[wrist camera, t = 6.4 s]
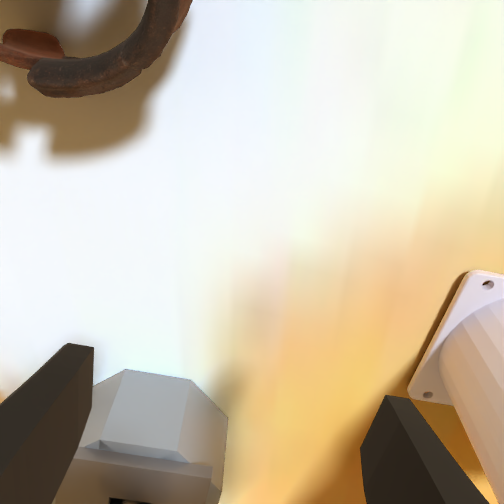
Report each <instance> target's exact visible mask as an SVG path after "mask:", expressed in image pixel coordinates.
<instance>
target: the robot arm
mask: <svg viewBox="0 0 504 504" xmlns="http://www.w3.org/2000/svg"><path fill="white" fill-rule="evenodd" d="M487 280H490V282H489V283H488V284H486V285H482V284H483V283H484V282H485V281H487ZM93 361H94V347H89V346H83V345H77V344H71V343H67V344H66V345H64V346H63V347H62V348H61V349H60V350H59V351H58V352H57V353H56V354H55V355H53V356H52V357H51V358H50V359H49V360H48V361H47V362H46V363H45V364H44V365H43V366H42V367H41V368H40V369H39V370H38V371H37V372H36V373H35V374H33V375H32V376H31V377H30V378H29V379H28V380H27V381H26V382H25V383H24V384H23V385H21V386H20V387H19V388H18V389H17V390H16V391H15V392H13V393H12V394H11V395H10V396H9V397H8V398H6V399H5V400H4V401H3V402H2V403H1V404H0V504H52V502H53V500H54V498H55V496H56V494H57V492H58V489H59V487H60V485H61V483H62V481H63V479H64V477H65V475H66V472H67V470H68V468H69V466H70V464H71V462H72V460H73V457H74V455H75V453H76V451H77V449H78V446H79V443H80V440H81V438H82V435H83V432H84V429H85V426H86V423H87V420H88V417H89V414H90V411H91V408H92V391H93ZM407 391H408V394H409V396H410V397H411V398H412V399H415V400H421V401H427V402H433V403H439V404H445V405H451V406H454V408H455V410H456V412H457V414H458V416H459V418H460V421H461V423H462V425H463V427H464V429H465V431H466V434H467V436H468V438H469V440H470V442H471V444H472V447H473V449H474V451H475V453H476V455H477V457H478V460H479V462H480V464H481V466H482V468H483V470H484V473H485V475H486V477H487V479H488V481H489V484H490V486H491V488H492V490H493V492H494V494H495V497H496V499H497V501H498V503H499V504H504V275H503V274H498V273H493V272H488V271H482V270H472V271H470V272H468V273H467V274H466V275H465V276H464V278H463V280H462V282H461V284H460V286H459V288H458V290H457V292H456V293H455V295H454V297H453V299H452V301H451V303H450V305H449V307H448V309H447V311H446V313H445V315H444V317H443V319H442V321H441V323H440V325H439V327H438V329H437V331H436V333H435V335H434V337H433V338H432V340H431V342H430V344H429V346H428V348H427V350H426V352H425V354H424V356H423V358H422V360H421V362H420V364H419V366H418V368H417V370H416V372H415V374H414V376H413V378H412V380H411V382H410V383H409V385H408V388H407ZM427 391H429V392H427ZM425 392H427V393H425ZM360 453H361V465H362V476H363V485H364V492H365V497H366V502H367V504H489V502H488V501H487V500H486V499H485V498H484V496H483V495H482V494H481V493H480V491H479V490H478V489H477V488H476V486H475V485H474V484H473V483H472V481H471V480H470V479H469V478H468V476H467V475H466V474H465V472H464V471H463V470H462V469H461V467H460V466H459V465H458V463H457V462H456V461H455V459H454V458H453V457H452V455H451V454H450V453H449V452H448V450H447V449H446V447H445V446H444V445H443V443H442V442H441V441H440V439H439V438H438V437H437V435H436V434H435V433H434V431H433V430H432V429H431V427H430V426H429V425H428V423H427V422H426V420H425V419H424V418H423V416H422V415H421V414H420V412H419V411H418V410H417V408H416V407H415V406H414V404H413V403H412V402H411V400H410V399H408V398H402V397H396V396H390V395H385V397H384V399H383V401H382V403H381V406H380V408H379V410H378V412H377V414H376V416H375V418H374V420H373V422H372V424H371V427H370V429H369V431H368V433H367V435H366V437H365V439H364V441H363V443H362V445H361V447H360Z"/></svg>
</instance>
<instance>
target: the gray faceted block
mask: <svg viewBox="0 0 504 504" xmlns="http://www.w3.org/2000/svg"><path fill="white" fill-rule="evenodd" d="M227 425H228V418H227V417H226V416H225V415H224V413H223V412H222V411H221V410H220V409H219V408H218V407H217V406H216V405H215V404H214V403H213V402H212V401H211V400H210V399H209V398H208V397H207V396H206V395H205V394H204V393H203V392H202V391H201V390H200V389H199V388H198V387H197V386H196V385H195V384H194V383H193V382H192V381H191V380H188V379H182V378H176V377H170V376H164V375H158V374H151V373H145V372H139V371H133V370H127V369H125V370H123V371H121V372H120V373H118V374H116V375H114V376H112V377H110V378H108V379H106V380H104V381H103V382H101V383H99V384H97V385H95V386H93V391H92V408H91V411H90V414H89V417H88V420H87V423H86V426H85V429H84V432H83V435H82V438H81V440H80V443H79V446H78V449H77V451H76V453H75V455H74V457H73V460H72V462H71V464H70V466H69V468H68V470H67V472H66V475H65V477H64V479H63V481H62V483H61V485H60V487H59V489H58V492H57V494H56V496H55V498H54V500H53V502H52V504H122V500H123V499H125V500H132V501H139V502H141V504H218V503H219V499H220V495H221V492H222V483H223V471H224V460H225V448H226V437H227Z"/></svg>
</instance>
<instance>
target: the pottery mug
mask: <svg viewBox="0 0 504 504" xmlns="http://www.w3.org/2000/svg"><path fill="white" fill-rule="evenodd" d="M192 1H193V0H148V4H147V7H146V10H145V13H144V15H143V17H142V20H141V22H140V24H139V25H138V27H137V28H136V30H135V31H134V32H133V33H132V34H131V36H130V37H129V38H128V39H126V40H125V41H124V42H122V43H121V44H119V45H118V46H116V47H115V48H113V49H111V50H110V51H108V52H105V53H103V54H100V55H98V56H93V57H89V58H75V57H66V56H65V54H64V51H63V49H62V47H61V46H60V44H59V41H58V40H57V39H56V37H54V36H52V35H50V34H48V33H42V32H36V31H32V30H22V29H9V30H7V31H6V32H5V34H4V35H3V44H1V43H0V61H3V62H5V63H7V64H10V65H13V66H16V67H20V68H24V69H29V70H30V71H29V73H28V75H27V80H28V82H29V84H30V85H31V86H32V87H34V88H35V89H37V90H38V91H39V92H41V93H42V94H44V95H45V96H49V97H53V98H61V97H66V98H71V97H82V96H86V95H93V94H100V93H104V92H107V91H110V90H114V89H115V88H119V87H121V86H123V85H124V84H126V83H128V82H129V81H131V80H132V79H134V78H135V77H137V76H138V75H139V74H140V73H141V71H142V69H145V68H148V67H149V66H150V65H151V64H152V63H153V62H154V61H155V60H156V59H157V58H158V57H159V56H161V53H162V51H163V49H164V47H165V45H166V44H167V43H168V41H169V39H170V37H171V35H172V34H173V33H174V32H175V31H176V30H177V29H178V28H179V27H180V26H181V24H182V22H183V20H184V19H185V17H186V15H187V13H188V11H189V8H190V5H191V3H192Z"/></svg>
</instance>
